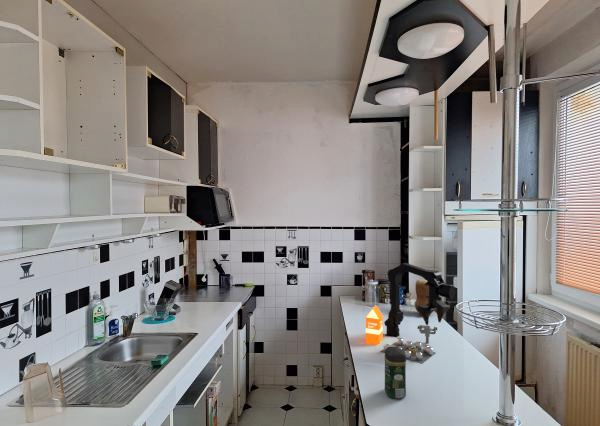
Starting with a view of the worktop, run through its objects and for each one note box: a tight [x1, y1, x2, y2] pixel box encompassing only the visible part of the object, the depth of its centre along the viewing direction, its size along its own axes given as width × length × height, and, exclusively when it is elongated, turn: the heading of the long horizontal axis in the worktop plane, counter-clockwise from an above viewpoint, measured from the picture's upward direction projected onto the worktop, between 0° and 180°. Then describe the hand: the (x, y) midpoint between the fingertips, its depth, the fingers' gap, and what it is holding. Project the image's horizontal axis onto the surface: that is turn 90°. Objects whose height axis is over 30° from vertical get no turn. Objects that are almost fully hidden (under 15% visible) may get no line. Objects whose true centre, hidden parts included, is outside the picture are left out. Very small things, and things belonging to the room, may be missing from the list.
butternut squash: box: [414, 279, 436, 315], centre depth 264 cm, size 14×13×25 cm
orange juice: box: [365, 305, 384, 346], centre depth 214 cm, size 8×9×20 cm
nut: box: [409, 346, 418, 355], centre depth 196 cm, size 4×5×3 cm
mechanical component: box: [417, 324, 438, 345], centre depth 210 cm, size 3×10×10 cm, turn 78°
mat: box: [379, 341, 437, 365], centre depth 198 cm, size 23×18×1 cm
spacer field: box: [383, 337, 434, 361], centre depth 197 cm, size 22×18×4 cm
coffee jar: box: [384, 347, 407, 400], centre depth 156 cm, size 10×8×19 cm
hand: (433, 323), depth 203 cm, fingers open, 9 cm apart
